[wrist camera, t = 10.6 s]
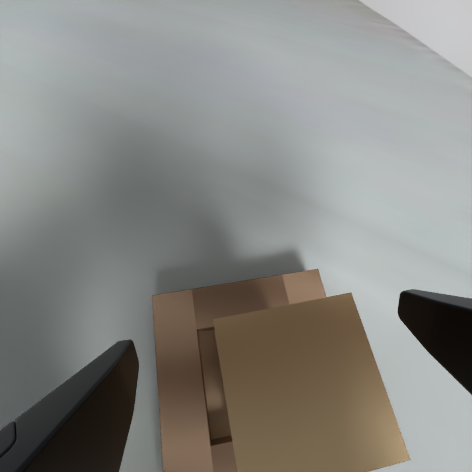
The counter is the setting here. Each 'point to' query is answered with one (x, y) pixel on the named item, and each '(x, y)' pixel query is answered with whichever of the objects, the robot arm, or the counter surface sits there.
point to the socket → (208, 364)
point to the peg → (306, 390)
